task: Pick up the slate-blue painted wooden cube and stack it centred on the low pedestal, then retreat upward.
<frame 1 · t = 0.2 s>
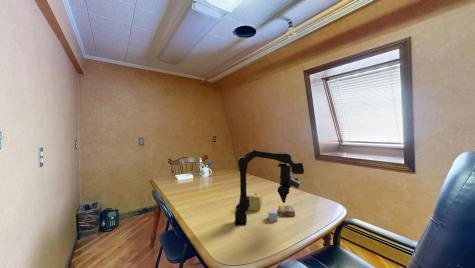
hand: (284, 200, 114), 14 cm above the table, fingers open, 9 cm apart
pedestal: (286, 212, 128), on the table
cheese: (254, 207, 137), on the table
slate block: (272, 219, 119), on the table
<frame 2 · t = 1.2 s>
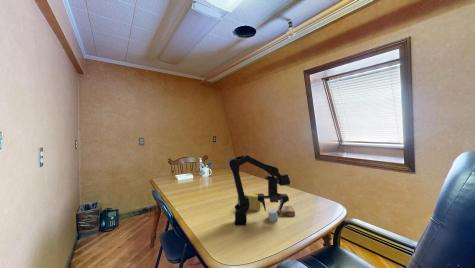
hand: (272, 211, 119), 5 cm above the table, fingers open, 9 cm apart
nothing on the table moved.
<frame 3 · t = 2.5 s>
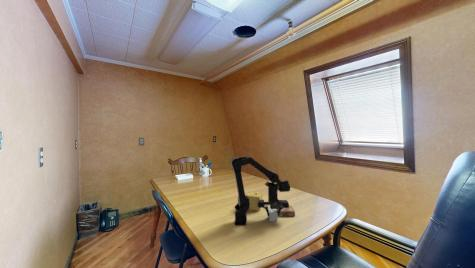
hand: (272, 217, 119), 1 cm above the table, fingers closed on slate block, 5 cm apart
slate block: (272, 219, 119), on the table, touching gripper
everything else where it was.
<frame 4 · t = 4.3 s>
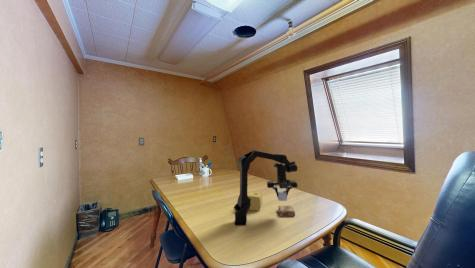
hand: (282, 197, 124), 12 cm above the table, fingers closed on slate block, 5 cm apart
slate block: (282, 199, 124), point 11 cm above the table, touching gripper
everything else where it was.
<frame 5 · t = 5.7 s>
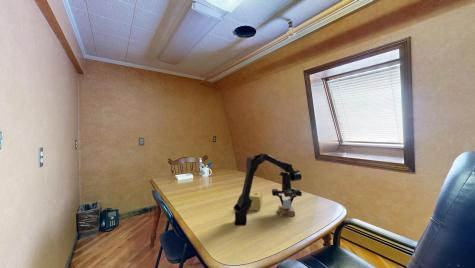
hand: (286, 205, 127), 5 cm above the table, fingers closed on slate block, 5 cm apart
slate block: (286, 207, 127), point 4 cm above the table, touching gripper
everything else where it was.
when the fingers open (5 cm above the table, at t = 6.4 s): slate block stays where it is, resting on pedestal.
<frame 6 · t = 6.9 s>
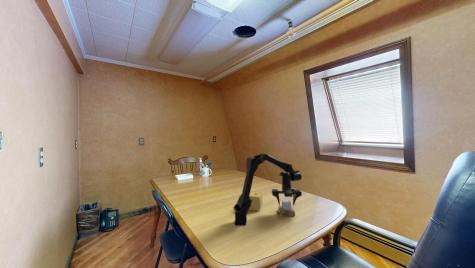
hand: (286, 205, 127), 5 cm above the table, fingers open, 9 cm apart
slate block: (286, 208, 127), point 3 cm above the table, touching pedestal
everything else where it was.
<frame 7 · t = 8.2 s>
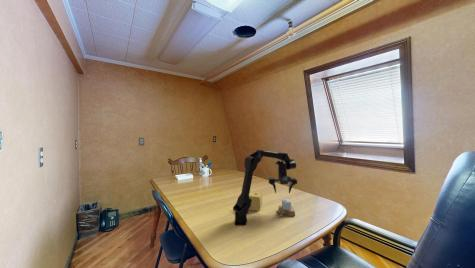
hand: (282, 193, 131), 12 cm above the table, fingers open, 9 cm apart
nothing on the table moved.
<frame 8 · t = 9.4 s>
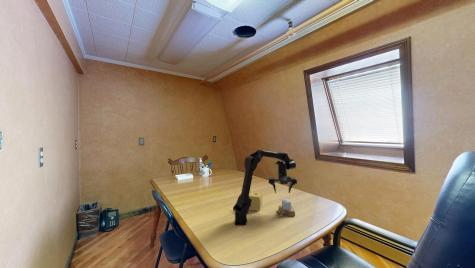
hand: (282, 193, 131), 12 cm above the table, fingers open, 9 cm apart
nothing on the table moved.
at the end: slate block 0.1 cm off-centre on the pedestal, point 3.1 cm above the pedestal's base; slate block tilted 0°; the gripper is holding nothing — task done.
